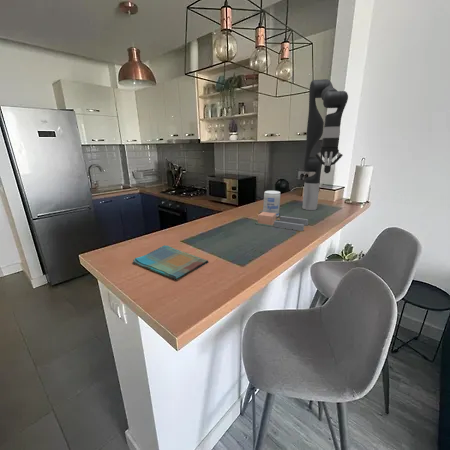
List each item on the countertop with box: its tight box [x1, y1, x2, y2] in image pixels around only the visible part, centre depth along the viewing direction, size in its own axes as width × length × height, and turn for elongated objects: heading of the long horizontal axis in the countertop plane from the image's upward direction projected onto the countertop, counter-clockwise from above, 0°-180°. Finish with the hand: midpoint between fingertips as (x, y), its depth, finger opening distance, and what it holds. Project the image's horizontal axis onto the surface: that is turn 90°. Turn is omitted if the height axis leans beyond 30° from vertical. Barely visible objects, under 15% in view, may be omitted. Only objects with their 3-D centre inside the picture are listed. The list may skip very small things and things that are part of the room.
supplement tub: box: [262, 190, 281, 218], centre depth 148 cm, size 10×10×15 cm
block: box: [257, 211, 277, 226], centre depth 137 cm, size 7×8×5 cm
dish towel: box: [132, 245, 209, 282], centre depth 93 cm, size 17×23×2 cm
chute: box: [273, 215, 309, 232], centre depth 132 cm, size 11×15×3 cm
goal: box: [255, 218, 280, 227], centre depth 138 cm, size 12×10×1 cm
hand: (326, 173), depth 126 cm, fingers closed
